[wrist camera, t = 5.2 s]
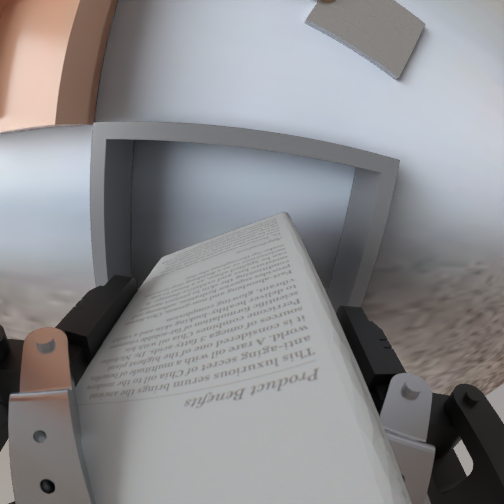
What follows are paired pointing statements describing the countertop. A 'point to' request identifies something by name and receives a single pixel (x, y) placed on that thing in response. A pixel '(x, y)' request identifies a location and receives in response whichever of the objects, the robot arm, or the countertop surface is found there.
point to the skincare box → (233, 386)
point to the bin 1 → (51, 61)
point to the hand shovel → (370, 30)
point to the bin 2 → (123, 134)
